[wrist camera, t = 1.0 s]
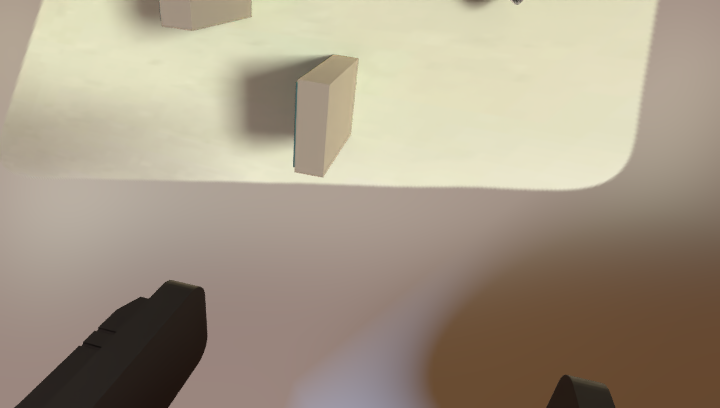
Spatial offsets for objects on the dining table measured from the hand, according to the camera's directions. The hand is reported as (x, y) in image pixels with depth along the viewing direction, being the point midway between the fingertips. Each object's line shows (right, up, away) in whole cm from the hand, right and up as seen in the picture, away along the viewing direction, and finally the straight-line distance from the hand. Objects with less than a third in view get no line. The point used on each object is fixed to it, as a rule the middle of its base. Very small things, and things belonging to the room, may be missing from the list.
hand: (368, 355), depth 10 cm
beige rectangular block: (-1, +10, +19) cm, 22 cm away
